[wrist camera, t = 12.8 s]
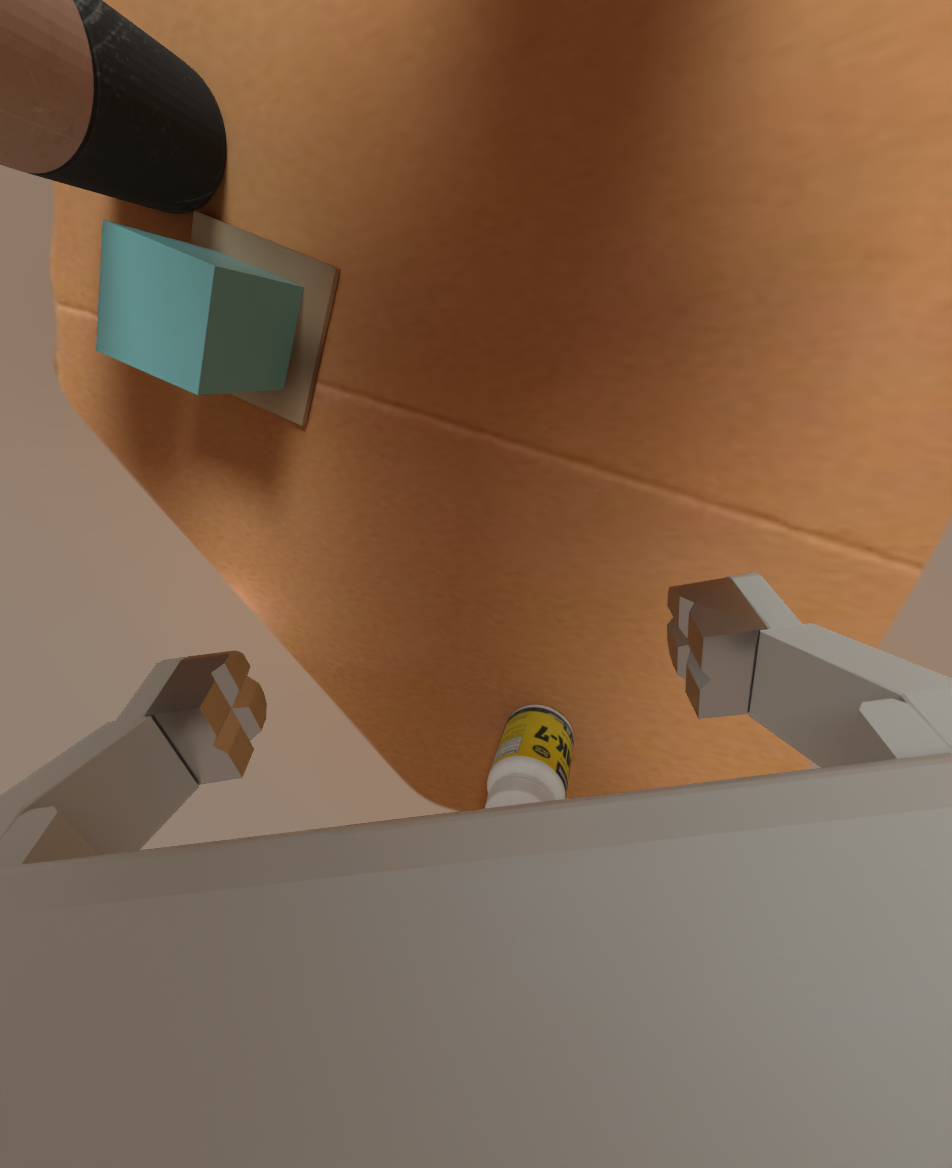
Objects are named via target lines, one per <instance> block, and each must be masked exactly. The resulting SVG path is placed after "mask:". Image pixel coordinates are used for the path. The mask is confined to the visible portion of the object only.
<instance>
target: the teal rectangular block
mask: <svg viewBox="0 0 952 1168" xmlns="http://www.w3.org/2000/svg"><path fill="white" fill-rule="evenodd" d="M303 289H304V287H302V286H300V285H297V284H295V283H292V282H290V281H288V280H285V279H283V278H280V277H278V276H275V275H273V274H271V273H268V272H266V271H263V270H261V269H258V268H256V267H254V266H251V265H249V264H246V263H244V262H242V261H239V260H237V259H234V258H232V257H229V256H227V255H225V254H222V253H220V252H217V251H215V250H212V249H208V248H204V247H201V246H197V245H194V244H190V243H186V242H183V241H179V240H176V239H172V238H168V237H165V236H161V235H158V234H154V233H150V232H147V231H143V230H140V229H136V228H132V227H129V226H125V225H122V224H118V223H114V222H111V221H107V220H104V219H103V227H102V246H101V265H100V285H99V304H98V323H97V342H96V351H98V352H101V353H103V354H105V355H107V356H110V357H112V358H114V359H116V360H119V361H121V362H123V363H126V364H128V365H130V366H132V367H135V368H137V369H139V370H141V371H144V372H146V373H148V374H151V375H153V376H155V377H157V378H160V379H162V380H164V381H166V382H169V383H171V384H173V385H176V386H178V387H180V388H182V389H185V390H187V391H189V392H191V393H194V394H196V395H209V394H223V393H237V392H252V391H266V390H281V389H284V386H285V381H286V376H287V371H288V366H289V361H290V355H291V350H292V345H293V340H294V335H295V330H296V325H297V320H298V315H299V310H300V305H301V300H302V295H303Z"/></svg>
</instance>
